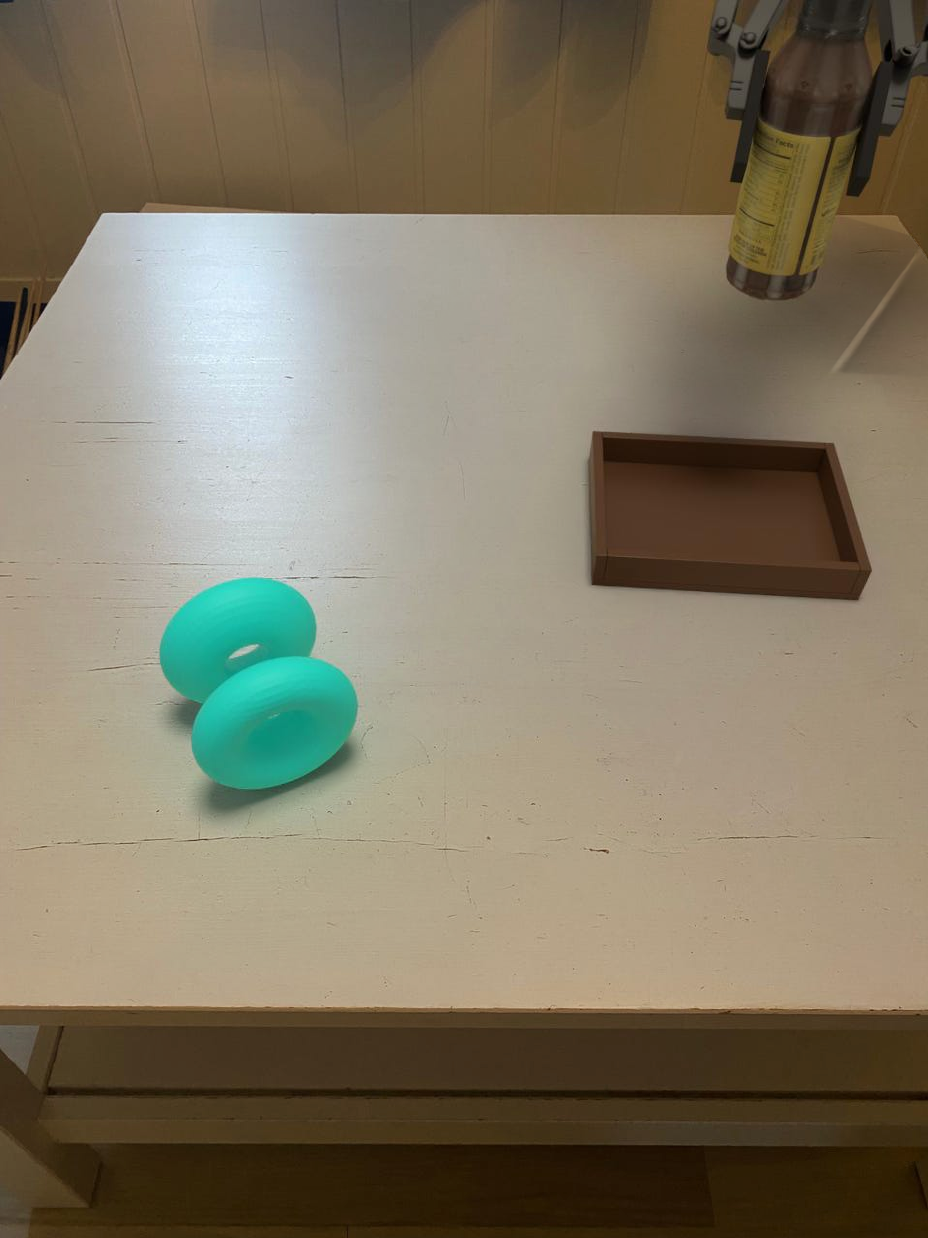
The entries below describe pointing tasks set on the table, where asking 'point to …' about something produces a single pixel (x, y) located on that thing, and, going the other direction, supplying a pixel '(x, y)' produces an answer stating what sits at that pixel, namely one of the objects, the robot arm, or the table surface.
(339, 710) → the donuts
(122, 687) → the table surface
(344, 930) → the table surface
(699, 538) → the serving tray
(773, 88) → the sauce bottle
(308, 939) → the table surface
